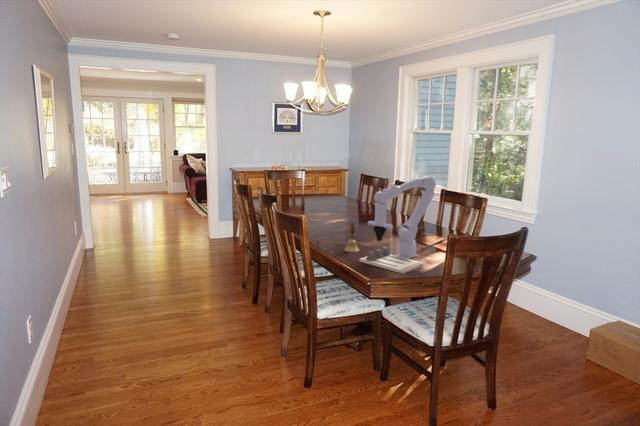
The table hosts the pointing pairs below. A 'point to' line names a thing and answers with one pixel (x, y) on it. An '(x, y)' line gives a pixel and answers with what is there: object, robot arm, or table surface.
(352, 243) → the hand bell
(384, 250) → the knob
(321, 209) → the table surface
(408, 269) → the switch board
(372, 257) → the knob
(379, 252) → the knob
